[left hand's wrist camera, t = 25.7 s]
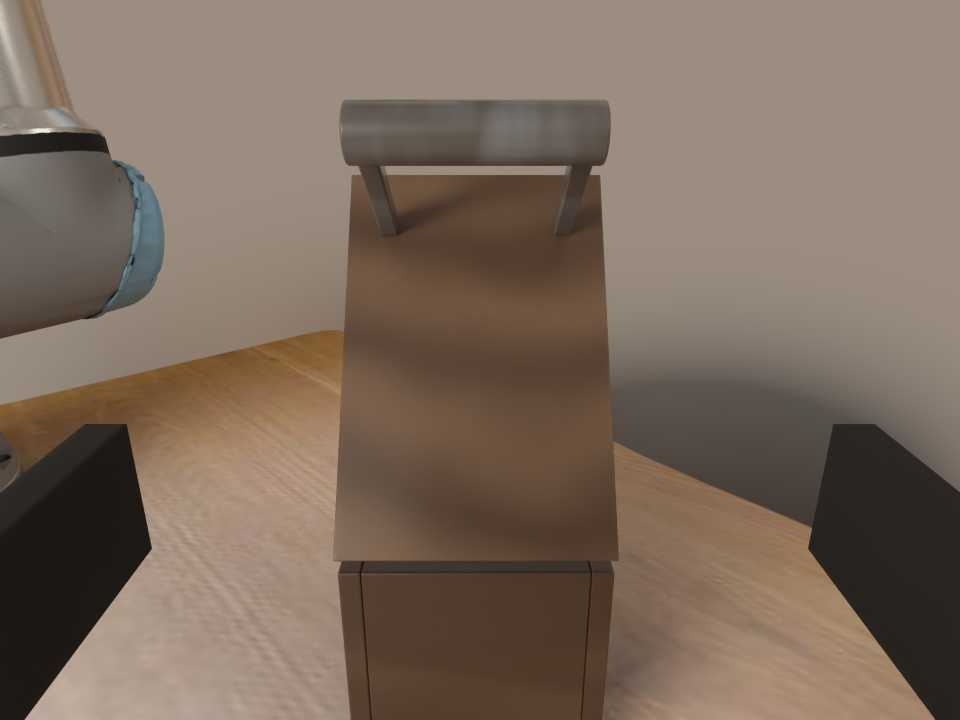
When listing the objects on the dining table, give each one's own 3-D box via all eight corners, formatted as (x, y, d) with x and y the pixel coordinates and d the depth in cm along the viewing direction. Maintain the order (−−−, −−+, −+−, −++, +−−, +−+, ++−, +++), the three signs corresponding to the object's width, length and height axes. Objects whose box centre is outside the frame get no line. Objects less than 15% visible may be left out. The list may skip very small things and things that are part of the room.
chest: (395, 558, 42) (387, 407, 38) (558, 558, 42) (565, 407, 38) (355, 777, 28) (337, 573, 25) (597, 776, 28) (615, 573, 25)
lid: (356, 187, 29) (304, 45, 20) (595, 187, 29) (645, 45, 20) (338, 559, 25) (267, 577, 16) (613, 559, 25) (682, 577, 17)
